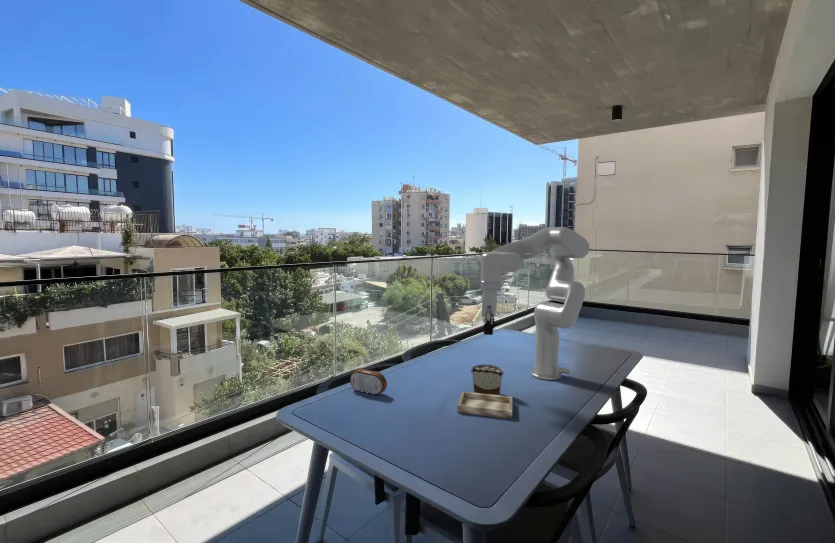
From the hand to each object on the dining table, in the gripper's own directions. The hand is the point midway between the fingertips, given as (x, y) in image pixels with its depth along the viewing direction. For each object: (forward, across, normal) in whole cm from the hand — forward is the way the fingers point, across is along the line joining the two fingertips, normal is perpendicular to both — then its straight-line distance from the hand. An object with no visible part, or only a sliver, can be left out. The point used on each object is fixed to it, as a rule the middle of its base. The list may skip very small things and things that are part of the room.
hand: (489, 331), depth 146 cm
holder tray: (+24, +14, 0) cm, 27 cm away
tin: (+24, +12, -44) cm, 51 cm away
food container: (+24, 0, 0) cm, 24 cm away
